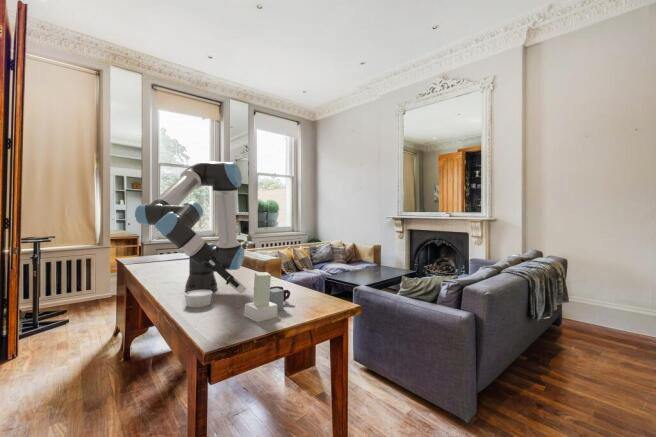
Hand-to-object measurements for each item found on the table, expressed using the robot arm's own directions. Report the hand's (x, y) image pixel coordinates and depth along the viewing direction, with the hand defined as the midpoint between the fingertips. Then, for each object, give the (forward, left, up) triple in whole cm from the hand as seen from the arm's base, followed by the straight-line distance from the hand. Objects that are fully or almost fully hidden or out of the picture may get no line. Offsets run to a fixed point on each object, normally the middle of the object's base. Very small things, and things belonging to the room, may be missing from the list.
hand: (239, 287), depth 114 cm
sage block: (0, +8, -8) cm, 11 cm away
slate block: (-6, +17, -12) cm, 22 cm away
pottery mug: (-14, +21, -13) cm, 28 cm away
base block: (0, +9, -13) cm, 15 cm away
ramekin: (-25, -11, -13) cm, 30 cm away
